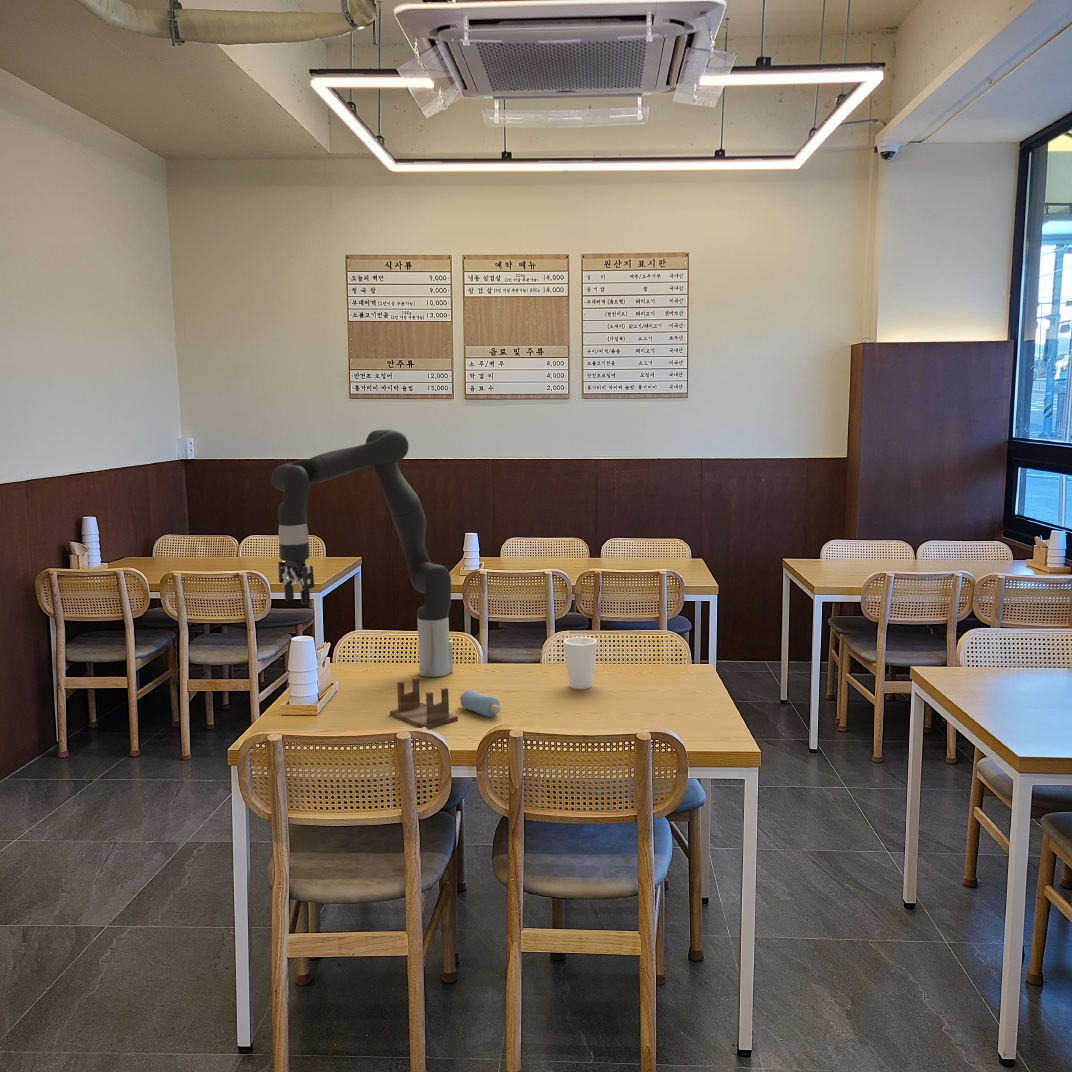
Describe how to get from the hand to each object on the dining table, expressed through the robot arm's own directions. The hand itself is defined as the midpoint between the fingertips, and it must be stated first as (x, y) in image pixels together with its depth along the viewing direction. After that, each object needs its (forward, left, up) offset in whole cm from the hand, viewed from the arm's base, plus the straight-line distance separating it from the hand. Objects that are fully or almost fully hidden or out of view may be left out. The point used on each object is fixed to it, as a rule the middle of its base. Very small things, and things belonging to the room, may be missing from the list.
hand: (297, 602), depth 246 cm
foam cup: (-66, +39, -29) cm, 82 cm away
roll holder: (-18, +30, -29) cm, 45 cm away
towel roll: (-31, +37, -29) cm, 56 cm away
